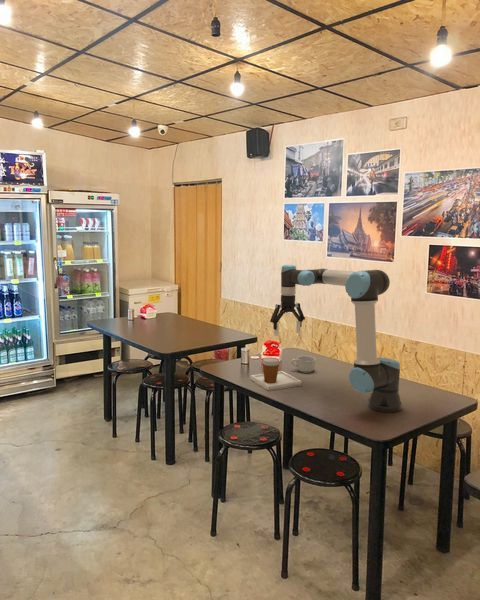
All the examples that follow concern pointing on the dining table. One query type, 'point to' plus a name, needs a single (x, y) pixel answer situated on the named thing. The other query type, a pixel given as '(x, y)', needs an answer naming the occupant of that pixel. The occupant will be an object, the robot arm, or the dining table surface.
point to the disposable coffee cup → (270, 369)
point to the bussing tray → (277, 381)
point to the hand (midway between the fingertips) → (287, 334)
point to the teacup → (304, 363)
